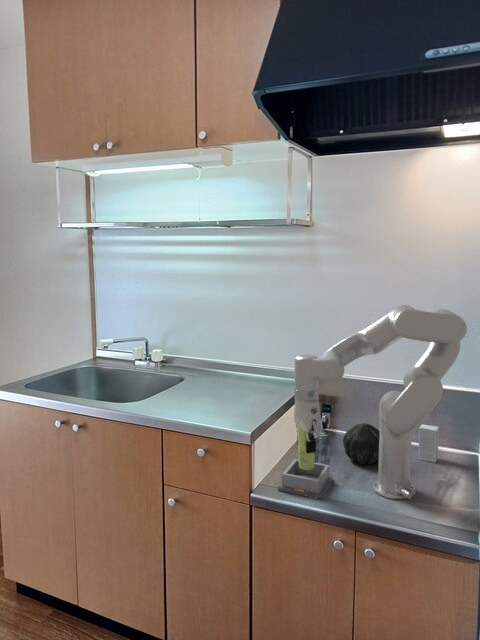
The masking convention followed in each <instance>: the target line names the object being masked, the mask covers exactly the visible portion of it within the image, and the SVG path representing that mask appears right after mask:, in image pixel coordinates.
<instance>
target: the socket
mask: <svg viewBox="0 0 480 640" xmlns="http://www.w3.org/2000/svg"><path fill="white" fill-rule="evenodd" d="M333 480H334V475H330V464H325V463H321V462H320V463H318V462H314V468H313V469H312V470H303V469H300V468H299V458H298V459H297V458H294V459H293V460H292V461H291V463H290V464H289V465H288V466H287V467H286V469H285V470H284V471H283V472H282V474H281V483H279V485H278V486H277V491H279V490H282V491H281V492H284V491H285V492H284V493H288V492H289V493H290V494H293V493H295V494H294V495H298V494H301V495H300V496H303V495H307V496H311V497H310V498H312V497H317V498H321V497H322V496H323V497H324V495H325V494H326V492H327V490H328V488H329V487H330V485H331V483H332V482H333ZM324 493H325V494H324ZM307 496H306V497H307ZM323 497H322V498H323ZM317 498H316V499H317Z"/></svg>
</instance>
